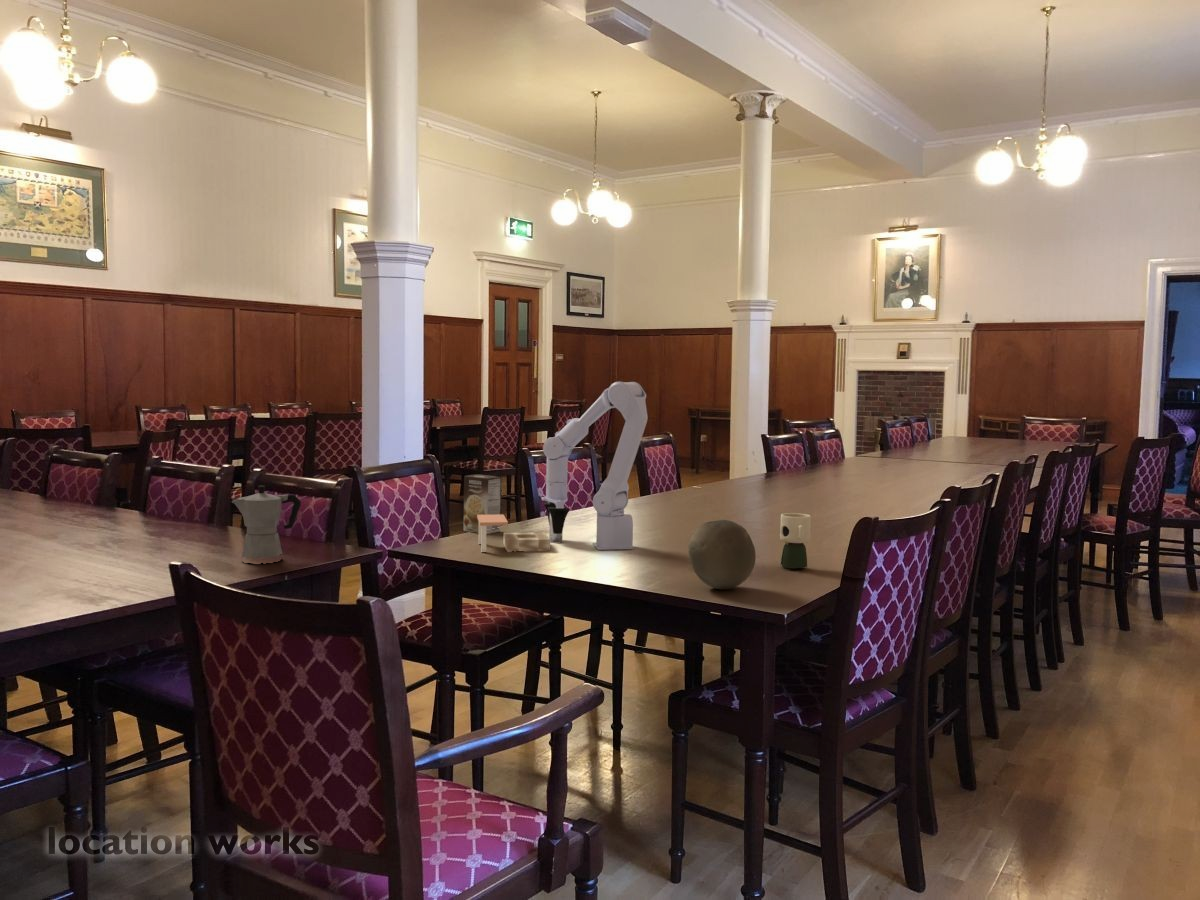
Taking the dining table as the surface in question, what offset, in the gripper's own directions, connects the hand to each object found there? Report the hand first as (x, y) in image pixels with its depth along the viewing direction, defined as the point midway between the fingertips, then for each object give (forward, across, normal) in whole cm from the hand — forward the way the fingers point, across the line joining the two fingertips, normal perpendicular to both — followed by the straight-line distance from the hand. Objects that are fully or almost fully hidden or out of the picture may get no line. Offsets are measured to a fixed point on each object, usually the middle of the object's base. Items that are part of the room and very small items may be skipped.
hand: (555, 531), depth 248 cm
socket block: (+3, +8, -9) cm, 12 cm away
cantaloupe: (+3, +60, +27) cm, 66 cm away
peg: (+3, 0, 0) cm, 3 cm away
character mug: (+3, +41, +52) cm, 66 cm away
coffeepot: (+3, +19, -72) cm, 74 cm away
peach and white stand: (+3, +8, -18) cm, 20 cm away
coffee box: (+3, -18, -19) cm, 26 cm away
